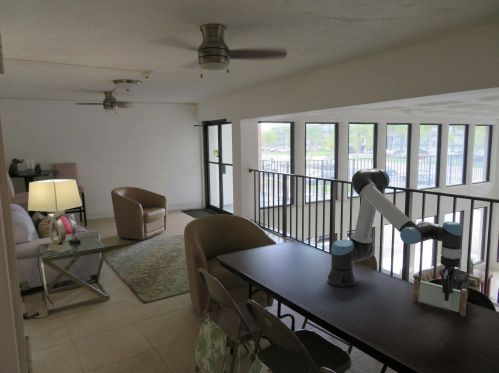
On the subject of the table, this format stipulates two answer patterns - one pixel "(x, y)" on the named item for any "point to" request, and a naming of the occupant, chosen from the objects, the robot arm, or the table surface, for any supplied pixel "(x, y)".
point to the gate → (438, 295)
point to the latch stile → (463, 302)
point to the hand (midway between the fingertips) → (446, 306)
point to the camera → (460, 281)
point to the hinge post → (416, 287)
